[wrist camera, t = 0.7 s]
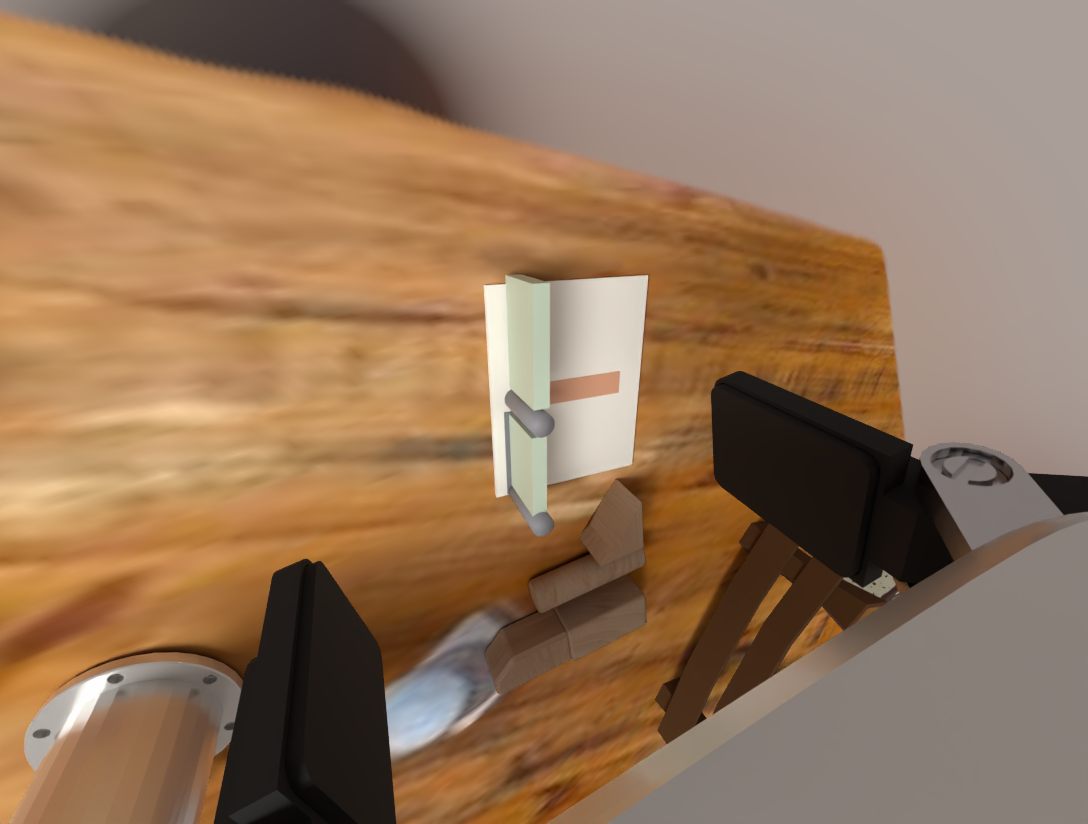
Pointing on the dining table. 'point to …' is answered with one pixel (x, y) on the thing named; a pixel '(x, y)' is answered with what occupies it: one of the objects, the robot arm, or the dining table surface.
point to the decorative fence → (777, 633)
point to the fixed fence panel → (529, 462)
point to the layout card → (576, 375)
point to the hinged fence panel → (529, 339)
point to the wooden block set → (578, 598)
